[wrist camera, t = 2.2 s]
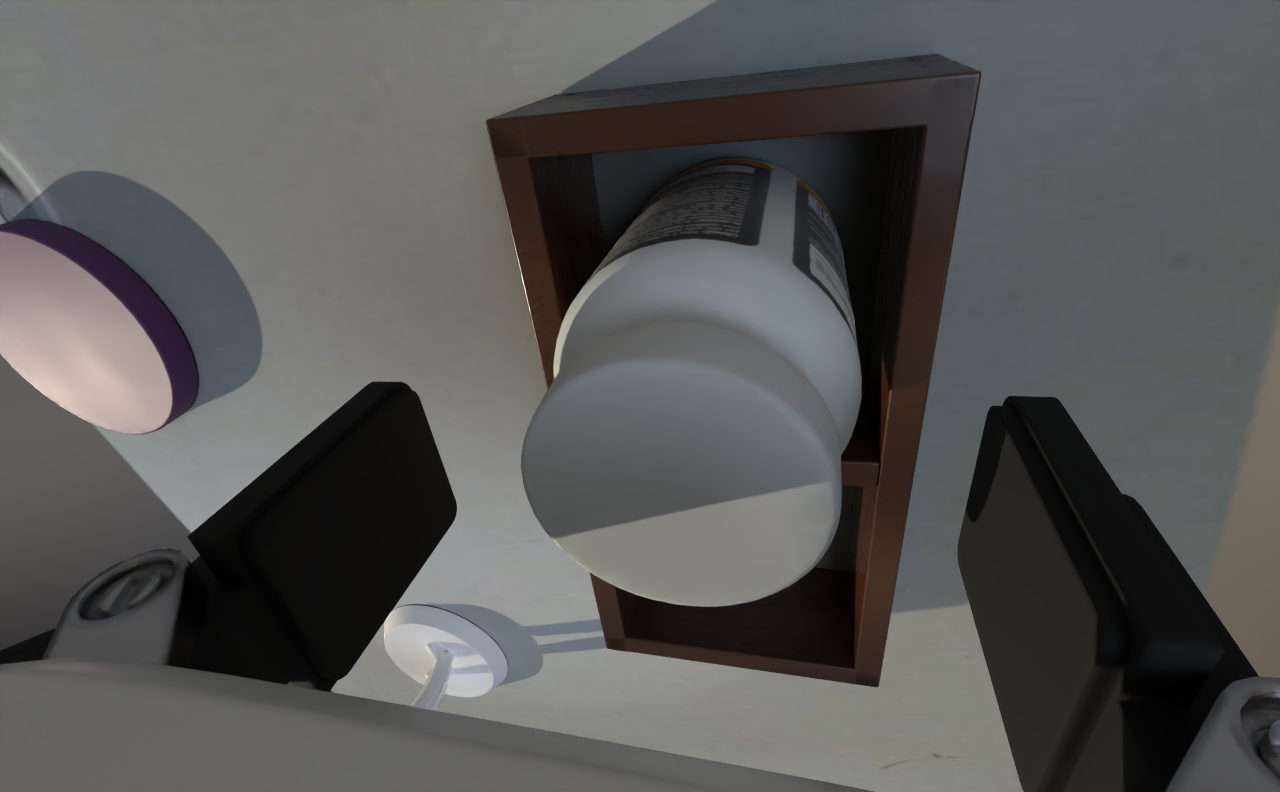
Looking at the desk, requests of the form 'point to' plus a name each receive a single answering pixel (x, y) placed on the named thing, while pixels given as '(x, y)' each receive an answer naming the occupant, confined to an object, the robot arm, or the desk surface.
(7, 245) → the disc
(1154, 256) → the desk surface
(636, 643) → the rack
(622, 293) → the pill bottle
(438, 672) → the figurine
